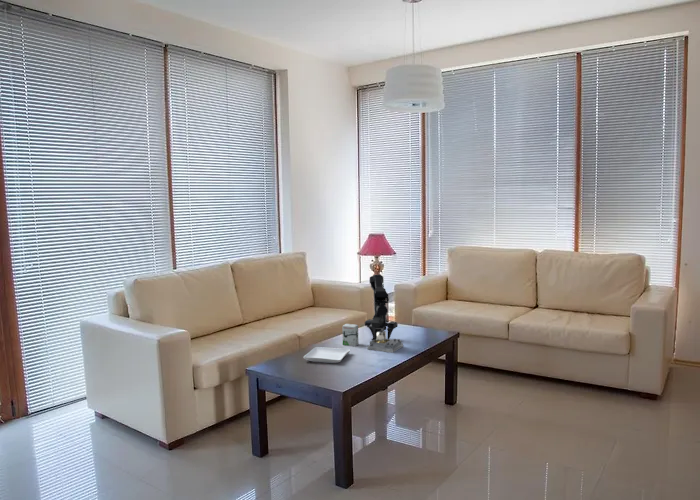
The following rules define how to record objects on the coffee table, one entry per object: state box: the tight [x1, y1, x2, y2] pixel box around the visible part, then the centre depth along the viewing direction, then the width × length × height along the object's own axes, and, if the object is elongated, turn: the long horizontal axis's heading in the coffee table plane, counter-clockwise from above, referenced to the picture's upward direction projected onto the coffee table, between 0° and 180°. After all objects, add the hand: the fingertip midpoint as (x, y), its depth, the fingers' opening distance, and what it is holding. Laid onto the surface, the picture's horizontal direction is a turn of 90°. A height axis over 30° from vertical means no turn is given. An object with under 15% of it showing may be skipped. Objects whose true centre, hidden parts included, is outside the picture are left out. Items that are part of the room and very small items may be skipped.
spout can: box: [376, 329, 387, 343], centre depth 313 cm, size 6×6×8 cm
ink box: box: [341, 323, 359, 347], centre depth 321 cm, size 9×5×12 cm, turn 68°
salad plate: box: [302, 346, 352, 364], centre depth 296 cm, size 21×21×3 cm
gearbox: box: [366, 338, 404, 354], centre depth 312 cm, size 16×14×5 cm
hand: (381, 338), depth 313 cm, fingers open, 9 cm apart
